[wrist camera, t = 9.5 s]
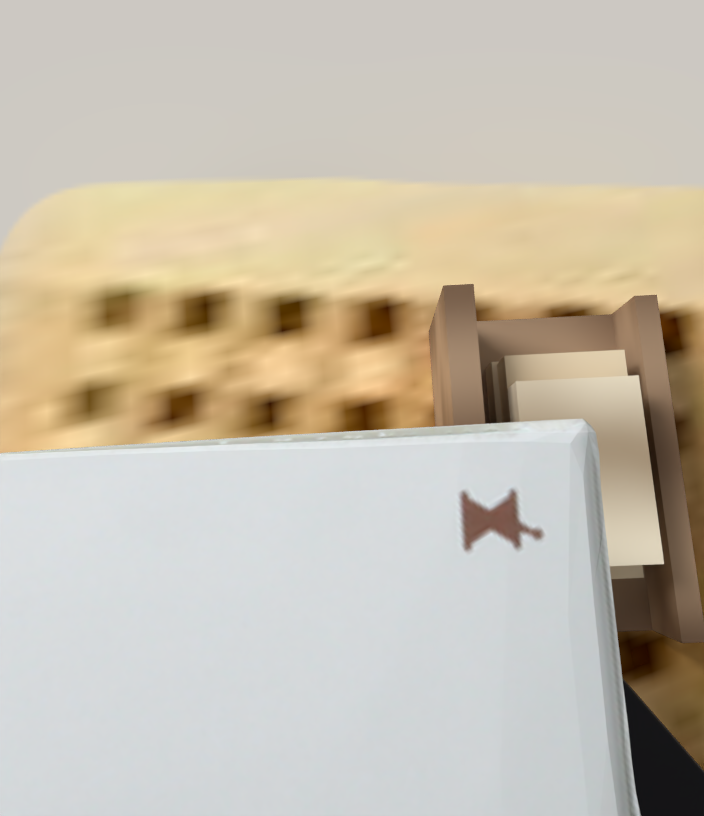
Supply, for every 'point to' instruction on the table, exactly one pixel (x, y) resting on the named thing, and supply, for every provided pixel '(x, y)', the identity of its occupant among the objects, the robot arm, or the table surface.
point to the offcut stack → (615, 430)
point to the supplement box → (312, 627)
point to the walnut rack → (645, 356)
